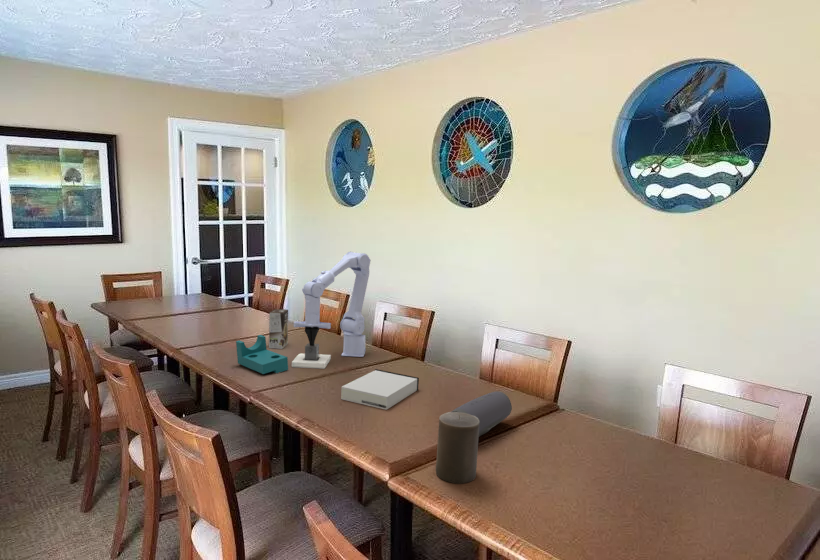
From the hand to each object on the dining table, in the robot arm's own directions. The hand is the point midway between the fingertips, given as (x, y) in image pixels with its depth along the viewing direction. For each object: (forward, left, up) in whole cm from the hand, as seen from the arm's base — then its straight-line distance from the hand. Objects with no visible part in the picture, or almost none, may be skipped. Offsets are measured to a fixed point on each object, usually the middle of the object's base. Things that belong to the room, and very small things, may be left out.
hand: (311, 345), depth 211 cm
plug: (0, 0, -7) cm, 7 cm away
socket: (0, 0, -7) cm, 7 cm away
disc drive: (-31, +32, -8) cm, 45 cm away
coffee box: (+20, -24, -8) cm, 32 cm away
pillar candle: (-53, +85, -8) cm, 100 cm away
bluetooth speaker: (-61, +60, -8) cm, 86 cm away
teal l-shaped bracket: (+17, +9, -8) cm, 21 cm away
